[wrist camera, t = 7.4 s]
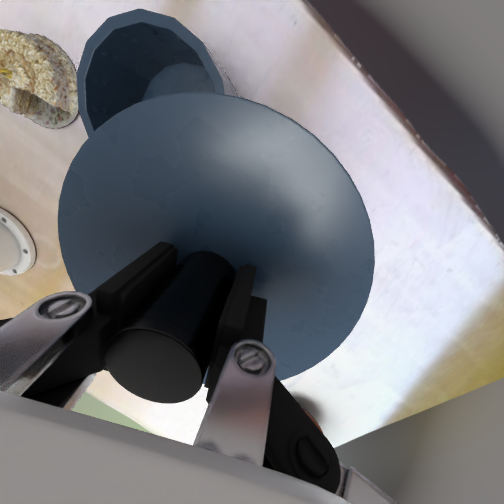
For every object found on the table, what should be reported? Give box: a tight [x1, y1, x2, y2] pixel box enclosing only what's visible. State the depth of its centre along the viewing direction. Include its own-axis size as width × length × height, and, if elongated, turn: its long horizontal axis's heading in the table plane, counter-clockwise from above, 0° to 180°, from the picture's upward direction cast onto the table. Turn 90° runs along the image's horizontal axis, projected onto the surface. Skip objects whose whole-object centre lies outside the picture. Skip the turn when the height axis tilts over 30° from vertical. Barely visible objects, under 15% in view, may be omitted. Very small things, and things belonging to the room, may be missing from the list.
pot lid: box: [58, 92, 375, 403], centre depth 9 cm, size 15×15×6 cm
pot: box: [77, 9, 238, 137], centre depth 25 cm, size 14×14×10 cm
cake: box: [0, 29, 78, 129], centre depth 27 cm, size 10×10×5 cm
